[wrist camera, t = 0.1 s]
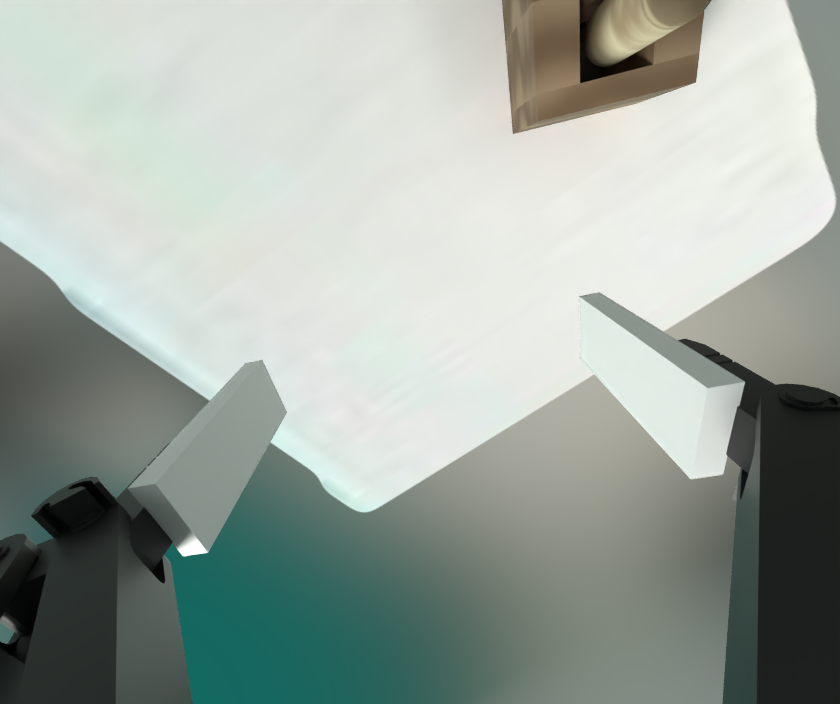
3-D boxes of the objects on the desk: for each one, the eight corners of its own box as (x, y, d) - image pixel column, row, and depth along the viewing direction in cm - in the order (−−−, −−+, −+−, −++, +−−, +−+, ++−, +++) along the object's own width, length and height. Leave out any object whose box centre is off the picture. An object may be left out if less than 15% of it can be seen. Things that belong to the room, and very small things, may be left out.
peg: (583, 5, 25) (649, -64, 18) (640, -10, 25) (730, -88, 18) (583, 73, 27) (643, 34, 20) (636, 59, 27) (718, 15, 19)
